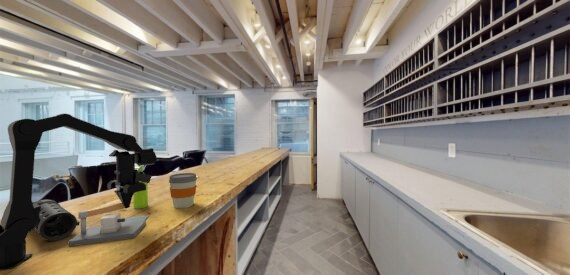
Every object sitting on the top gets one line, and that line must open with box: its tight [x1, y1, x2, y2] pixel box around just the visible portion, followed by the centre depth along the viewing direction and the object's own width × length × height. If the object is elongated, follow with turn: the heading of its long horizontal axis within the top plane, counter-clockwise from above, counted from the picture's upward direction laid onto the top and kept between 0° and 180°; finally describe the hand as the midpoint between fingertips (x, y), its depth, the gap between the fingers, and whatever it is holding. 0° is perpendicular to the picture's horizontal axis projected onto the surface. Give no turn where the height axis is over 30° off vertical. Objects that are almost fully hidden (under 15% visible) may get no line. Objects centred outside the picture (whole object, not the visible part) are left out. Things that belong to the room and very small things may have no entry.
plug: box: [100, 212, 126, 233], centre depth 78 cm, size 5×6×6 cm
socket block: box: [67, 218, 147, 247], centre depth 77 cm, size 12×18×6 cm, turn 106°
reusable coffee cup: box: [168, 172, 198, 209], centre depth 109 cm, size 13×13×15 cm
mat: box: [121, 215, 149, 223], centre depth 89 cm, size 8×8×1 cm
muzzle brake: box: [32, 199, 81, 241], centre depth 82 cm, size 10×28×10 cm
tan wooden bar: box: [78, 202, 131, 220], centre depth 80 cm, size 2×15×2 cm, turn 144°
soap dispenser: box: [132, 165, 149, 209], centre depth 107 cm, size 6×7×20 cm
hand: (127, 208), depth 84 cm, fingers closed
